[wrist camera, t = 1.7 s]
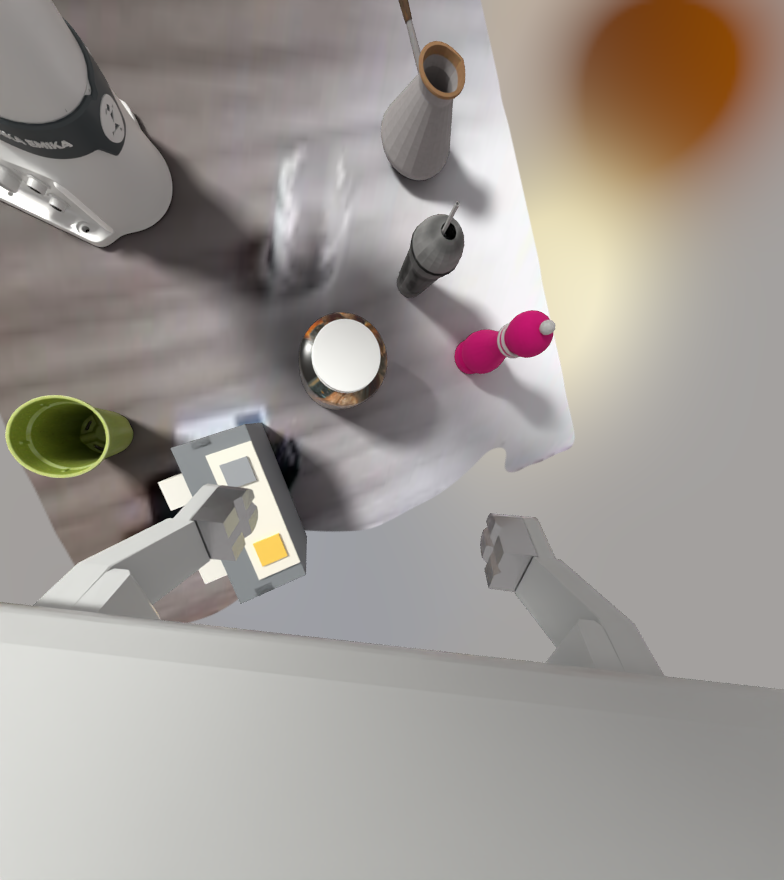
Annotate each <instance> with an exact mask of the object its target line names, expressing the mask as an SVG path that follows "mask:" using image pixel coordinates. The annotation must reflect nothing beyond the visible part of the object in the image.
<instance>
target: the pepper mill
mask: <svg viewBox="0 0 784 880" xmlns="http://www.w3.org/2000/svg"><path fill="white" fill-rule="evenodd" d="M554 330H555V323H554V322H553V321H551V320H550V319H549V318H548V316H546V315H545V314H544V313H542V312H539V311H533V310H531V311H526V312H523V313H521V314H519V315H517V316H516V317H515V318H514V319H513V320H512V321H511V322H510V323H509V324H506V325H504V326H503V327H502V328H501V329H500V331H493V330H480V331H477V332H474V333H472V334H471V335H469V336H468V337H467V339H466V340H464V341H463V342H461V343H460V344H459V345H458V346H457V348H456V351H455V362H456V365H457V367H458V368H459V369H460V370H461V371H462V372H464V373H466V374H474V373H478V374H485V373H488V372H491V371H493V370H494V369H496V368H497V367H498V366H499V365H500V364H501V363H502V362H503V360H504V359H505V358H506V357H508V358H517V357H525V358H528V357H533V356H536V355H538V354H540V353H542V352H543V351H544V350H545V349H546V348H547V347H548V346H549V345H550V343H551V341H552V338H553V331H554Z"/></svg>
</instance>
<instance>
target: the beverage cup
mask: <svg viewBox="0 0 784 880" xmlns="http://www.w3.org/2000/svg"><path fill="white" fill-rule="evenodd" d="M459 205H460V203H459V202H458V201H456V203H455V205H454V207H453V209H452V211H451V213H450V215H449V216H448V215H444V214H437V215H433V216H430V217H428V218H427V219H426V220H424V221H423V222H422V223H421V224H420V225H419V226H418V227H417V228H416V229H415V231H414V233H413V235H412V239H411V245H410V249H409V251H408V253H407V256H406V258H405V261H404V263H403V265H402V268H401V270H400V272H399V276H398V279H397V287H398V289H399V291H400V292H401V294H403V295H404V296H406V297H410V298H412V297H415V296H417V295H418V294H420V293H421V292H422V291H424V290H425V289H426V288H427V287H429V286H430V285H431V284H432V283H434V282H435V281H436V280H437V279H438V278H440V277H443V276H445V275H447V274H449V273H450V272H451V271H453V270H454V269H455V267H456V266H457V264H458V262H459V260H460V258H461V256H462V252H463V248H464V235H463V232H462V228H461V227H460V225H459V223H458V222H457V221H456V220H455V219H454V218H453V216H454V214H455V212H456V210H457V208H458V207H459Z"/></svg>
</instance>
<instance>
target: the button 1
mask: <svg viewBox="0 0 784 880" xmlns="http://www.w3.org/2000/svg"><path fill="white" fill-rule="evenodd" d="M158 484H159V486H160V488H161V490H162V493H163V495H164V497H165V499H166V501H167V503H168V505H169V508H170V510H174V509H177V508H179V507H182V506H185V505H186V504H187V503H188V502H189V500H190V499H191V498H192V495H191V493H190V491H189V488H188V486H187V484H186V482H185V479H184V477H183V475H182V473H181V474H178V475H175V476H172V477H170V478H167V479H165V480H163V481H160V482H158Z"/></svg>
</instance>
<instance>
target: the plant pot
mask: <svg viewBox="0 0 784 880" xmlns="http://www.w3.org/2000/svg"><path fill="white" fill-rule="evenodd" d="M89 421H92V423H91V425H90V427H89V428H88V430H86V426H87V424H88V422H89ZM104 432H105V433H106V435H105V434H104ZM5 436H6V442H7V445H8V448H9V451H10V452H11V454H12V455H13V457H14V458H15V459H16V460H17V461H18V462H19V463H20V464H21V465H22V466H24V467H25V468H27V469H28V470H30V471H32V472H34V473H37V474H40V475H43V476H47V477H54V478H67V477H74V476H78V475H81V474H84V473H87V472H89V471H91V470H92V469H94V468H95V467H97V466H98V465H99V464H100V463H101V462H102V461H103V460H104V459H105V458H108V457H110V456H112V455H115V454H117V453H119V452H121V451H123V450H125V449H126V448H127V447H128V446H129V445H130V443H131V441H132V438H133V430H132V428H131V426H130V424H129V421H128V420H127V419H126V418H125V417H123V416H122V415H120V414H118V413H115V412H111V411H107V410H103V409H98V408H94V407H92V406H91V405H89V404H88V403H86V402H84V401H82V400H79V399H76V398H73V397H68V396H60V395H50V396H42V397H38V398H35V399H32V400H30V401H28V402H26V403H25V404H23V405H21V406H20V407H19V408H18V409H16V411H15V412H14V413H13V414H12V416H11V418H10V419H9V421H8V423H7V427H6V433H5ZM94 445H97V446H99V447H102V448H104V450H99V449H97V448H95V447H94Z"/></svg>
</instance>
